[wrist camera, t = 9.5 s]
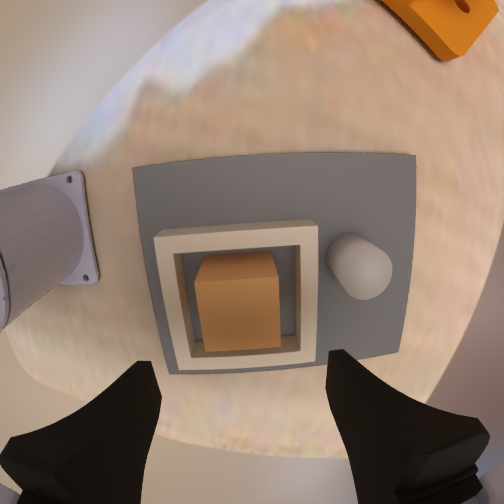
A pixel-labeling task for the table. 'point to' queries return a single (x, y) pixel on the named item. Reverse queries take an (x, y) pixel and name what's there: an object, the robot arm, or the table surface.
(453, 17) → the bracket
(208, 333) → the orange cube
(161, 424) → the table surface
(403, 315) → the board
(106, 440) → the robot arm
